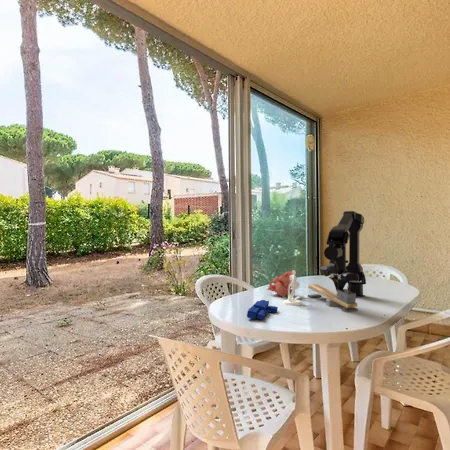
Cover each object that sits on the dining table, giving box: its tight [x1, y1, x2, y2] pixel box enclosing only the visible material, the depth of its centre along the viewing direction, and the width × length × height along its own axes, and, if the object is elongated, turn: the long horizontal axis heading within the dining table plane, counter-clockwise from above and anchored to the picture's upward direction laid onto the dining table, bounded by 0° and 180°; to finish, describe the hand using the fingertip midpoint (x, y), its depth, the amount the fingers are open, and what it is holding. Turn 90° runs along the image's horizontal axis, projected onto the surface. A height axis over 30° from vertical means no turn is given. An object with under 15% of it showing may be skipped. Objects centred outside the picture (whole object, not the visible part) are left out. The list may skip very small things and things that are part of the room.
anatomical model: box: [266, 270, 297, 297], centre depth 170 cm, size 10×12×15 cm
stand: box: [307, 293, 359, 313], centre depth 152 cm, size 7×29×2 cm, turn 17°
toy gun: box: [246, 299, 278, 320], centre depth 138 cm, size 4×22×10 cm
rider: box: [336, 288, 357, 304], centre depth 142 cm, size 4×7×4 cm, turn 16°
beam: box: [307, 283, 358, 308], centre depth 152 cm, size 5×30×2 cm, turn 17°
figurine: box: [282, 269, 303, 307], centre depth 154 cm, size 9×9×15 cm
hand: (339, 294), depth 146 cm, fingers closed
